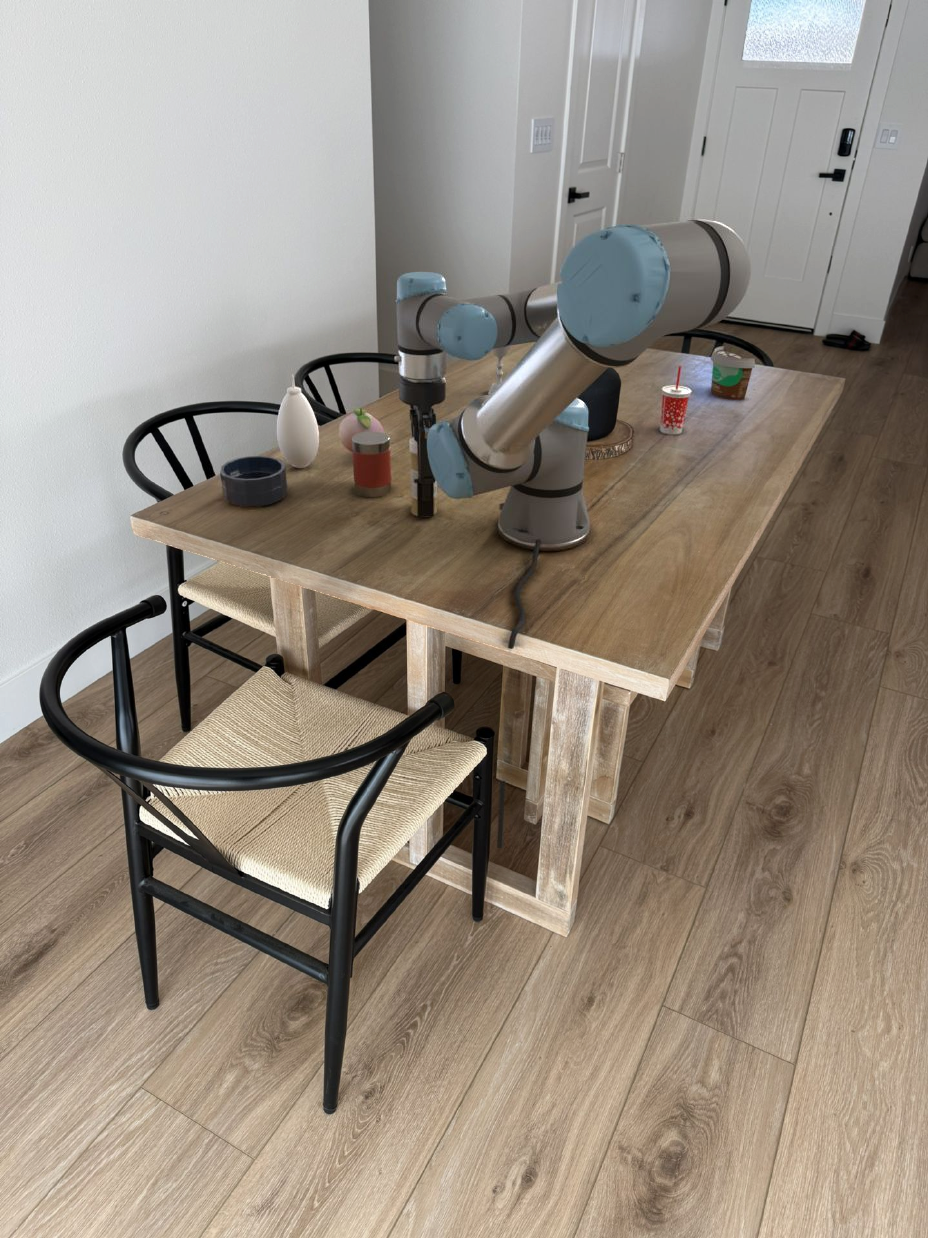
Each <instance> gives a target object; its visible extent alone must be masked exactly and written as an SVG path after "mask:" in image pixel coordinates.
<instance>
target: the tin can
mask: <svg viewBox="0 0 928 1238" xmlns="http://www.w3.org/2000/svg"><path fill="white" fill-rule="evenodd" d="M352 446H353V447H352V452H351V453H352V467H353V470H352V471H353V483H354V492H355V493H356V494H357V495H359V496H361V497H364V498H379V497H383V496H387V495H388V494H390V493H391V491H392V466H391V465H392V464H391V463H392V462H391V446H390V436H389V434H387V433H385V432H384V433H381V432H373V431H371V432H362V433H358V434H356V435H354V436H353V437H352Z"/></svg>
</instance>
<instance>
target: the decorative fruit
mask: <svg viewBox="0 0 928 1238" xmlns="http://www.w3.org/2000/svg"><path fill="white" fill-rule="evenodd" d="M352 412H353V413H351V414H348V415H346V417H345V418H343V419H342V421H341V423H340V424H339V429H338V436H339V437H338V438H339V440H340V443H341V444H342V446H343V447H344V449H346V450H348V452H351V453H353V452H352V447H353V446H352V437H353V436H354V435H356V434H358V433H362V432H371V431H373V432H381V433H385V430H384V427H383V425H382V424H381V423H380V421H379V420H378V419H376V418H375V417H374V416H373V415H371V414H370V413H368V412H367V411H366V410H364V409H363V408H362V407H361V408H355V409H354V410H352Z"/></svg>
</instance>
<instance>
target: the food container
mask: <svg viewBox="0 0 928 1238" xmlns="http://www.w3.org/2000/svg"><path fill="white" fill-rule="evenodd" d="M755 360H756V358H755V357H752V358H745V357H744V356H742V355H740V354H738V353H733V352H729V351H726V350H724V345H723V346H717V347H715V348H714V350H713V352H712V354H711V356H710V361H711V362H712V371H711V372H712V373H711V385H710V386H711V387H710V394H711V395H712V396H714V397H716V398H719V399H722V400H730V401H744V400H745V398H746V395H747V391H748V388H749V383H750V379H751V376H752V372H753V369H755V368H756V361H755Z"/></svg>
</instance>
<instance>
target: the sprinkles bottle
mask: <svg viewBox="0 0 928 1238" xmlns="http://www.w3.org/2000/svg"><path fill="white" fill-rule="evenodd" d="M408 443H409V445H408V447H409V448H408V449H409V453H410V496H411V508H410V512H411V514H412V515H413V516H415V517H418V511H417V483H414V479H418V457H417V442H416V441H415V440H414V437H412V436H411V438H409V442H408ZM437 485H438V484H437V482H436V480H435V483H434V515H436V514H437V511H438V508H437V493H438V492H437V491H438V490H437ZM429 517H431V516H429ZM429 517H428V518H429Z"/></svg>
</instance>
